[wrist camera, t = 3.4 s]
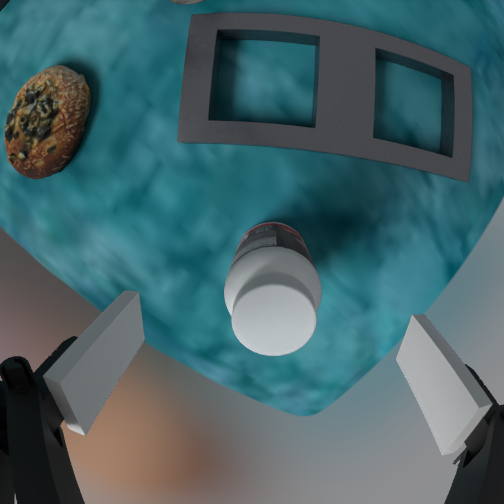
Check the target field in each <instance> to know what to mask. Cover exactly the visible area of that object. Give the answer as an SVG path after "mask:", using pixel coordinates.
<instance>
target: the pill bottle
mask: <svg viewBox="0 0 504 504" xmlns="http://www.w3.org/2000/svg"><path fill="white" fill-rule="evenodd" d="M224 296H225V302H226V306H227V308H228V311H229V312H230V314H231V316H232V327H233V330H234V333H235V335H236V337H237V338H238V339H239V341H240V342H241V343H242V344H243V345H244V346H246V347H247V348H248V349H250V350H252V351H254V352H256V353H259V354H263V355H268V356H278V355H285V354H288V353H291V352H294V351H296V350H298V349H299V348H301V347H302V346H303V345H305V344H306V343H307V342H308V341H309V339H310V338H311V337H312V335H313V333H314V331H315V328H316V323H317V313H316V312H317V310H318V308H319V305H320V301H321V283H320V279H319V275H318V273H317V270H316V268H315V266H314V263H313V261H312V258H311V256H310V254H309V251H308V248H307V246H306V244H305V242H304V240H303V239H302V237H301V236H300V234H299V233H298V232H297V231H296V230H295V229H293V228H292V227H290V226H288V225H286V224H283V223H279V222H266V223H262V224H258V225H256V226H254V227H253V228H251V229H250V230H249V231H247V232H246V233H245V234H244V236H243V237H242V239H241V240H240V243H239V245H238V247H237V250H236V253H235V256H234V259H233V261H232V264H231V267H230V270H229V273H228V276H227V278H226V283H225V289H224Z"/></svg>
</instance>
